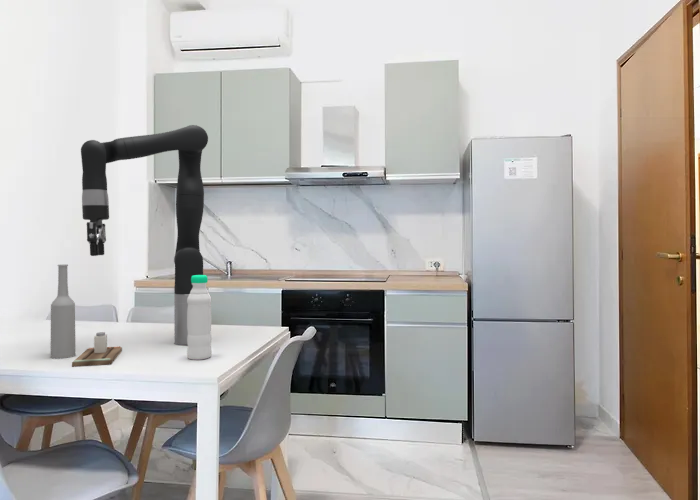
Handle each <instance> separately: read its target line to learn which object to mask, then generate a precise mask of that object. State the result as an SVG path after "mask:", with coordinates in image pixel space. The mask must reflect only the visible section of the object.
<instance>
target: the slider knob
mask: <svg viewBox="0 0 700 500" xmlns="http://www.w3.org/2000/svg"><path fill="white" fill-rule="evenodd" d="M95 333H96V334H95V335H94V337H93V342H94V343H93V345H94V346H93V348H94V353H105V352H106V351H107V347H108V334H106V332H105V331H104V332H103V331H102V332H100V331H99V332H95Z"/></svg>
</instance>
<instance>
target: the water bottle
mask: <svg viewBox="0 0 700 500" xmlns="http://www.w3.org/2000/svg"><path fill="white" fill-rule="evenodd" d="M208 281H209V278H208V276H207V275H206V274H203V275H193V276H192V277H191V283H192V285H193V288H192V290H191V291H190V294H189V296H188V298H187V303H188V309H187V329H188V336H187V344H188V345H187V347H186V348H187V351H186V352H187V353H186V355H187V356H186V357H187V358H188V359H189V360H192V361H193V360H194V361H199V360H200V361H201V360H206V359H209V358H210V357H212V334H211V333H212V332H211V331H212V296H211V295H210V293H209V290H208V288H207V284H208Z"/></svg>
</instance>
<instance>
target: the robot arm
mask: <svg viewBox="0 0 700 500" xmlns="http://www.w3.org/2000/svg"><path fill="white" fill-rule="evenodd" d="M208 142H209V135H208V133H207V130H205V129H204V128H203V127H201V126H199V125H197V124H190V125H187V126H184V127H181V128H178V129H174V130H170V131H166V132H160V133H154V134H153V133H152V134H143V135H137V136H136V135H134V136H126V137H118V138H115V139H113V140H112V141H104V142H100V141H98V140H95V139H90V140H86V141H85V142H84V143H83V144H82V145H81V148H80V158H81V165H82V166H81V167H82V175H81V176H82V177H81V178H82V179H81V185H82V186H81V188H82V189H81V190H82V194H81V206H82V207H81V210H82V219H83V220H85V221H87V222H86V238H87V239H86V241H87V242H88V244H89V256H91V257H97V256H104V255H105V243H106V241H107V238H106V237H107V235H106V233H107V232H106V224H105V223H103V221H104V220H105V221H107V220H109V219H110V207H109V206H110V205H109V203H110V202H109V194H108V180H107V174H106V173H107V164H110V163H113V162H117V161H126V160H133V159H140V158H144V157H150V156H153V155H158V154H162V153H166V152H172V151H177V153H178V175H177V183H176V184H177V185H176V194H175V195H176V197H175V198H176V200H175V212H176V213H175V214H176V218H175V219H176V226H177V228H176V229H177V238H176V246H175V254H174V257H173V258H174V259H173V262H174V291H173V292H174V303H173V304H174V305H173V306H174V308H173V309H174V315H173V316H174V318H173V319H174V320H173V321H174V324H173V325H174V327H173V328H174V336H173V338H174V344H175V345H180V346H188V344H187V336H188V329H187V309H188V303H187V298H188V296H189V294H190V291H191V290H192V288H193V285H192V283H191V277H192V276H193V275H204V258H203V257H204V256H203V255H202V253H201V252H200V251H201V250H200V231H201V226H202V221H203V214H204V206H205V204H204V202H205V190H204V189H205V188H204V183H203V179H202V178H203V177H202V172H201V166H202V165H201V162H202V156H203V154H202V153H203V150H204V149H205V148H206V147H207V145H208Z"/></svg>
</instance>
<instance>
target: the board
mask: <svg viewBox="0 0 700 500" xmlns="http://www.w3.org/2000/svg"><path fill="white" fill-rule="evenodd" d="M122 352H123V347H122V346H118V345H117V346H107V351H106V352H105V353H94V347H88V348H86V349H85V350H84V352H82V353H81V354H79V356H78V357H76V358H75V359H74V360H73V361H72V362H71V367H74V366H75V368H76V367H91V366H104V365H105V366H106V365H107V366H108V365H112V364H113V362H115V360H116V359H117V358H118V357H119V355H120V354H121V353H122Z"/></svg>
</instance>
